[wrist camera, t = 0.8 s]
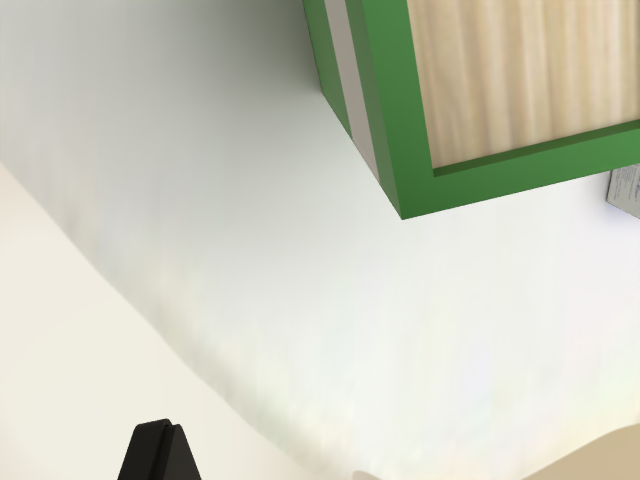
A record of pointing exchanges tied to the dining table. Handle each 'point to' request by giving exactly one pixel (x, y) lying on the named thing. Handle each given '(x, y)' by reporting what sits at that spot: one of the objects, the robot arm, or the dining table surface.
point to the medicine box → (626, 189)
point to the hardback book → (480, 92)
